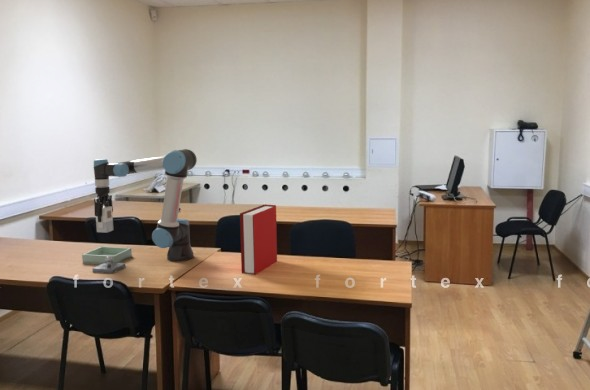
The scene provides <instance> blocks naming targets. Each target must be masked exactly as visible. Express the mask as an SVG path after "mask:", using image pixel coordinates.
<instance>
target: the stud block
mask: <svg viewBox="0 0 590 390" xmlns="http://www.w3.org/2000/svg"><path fill="white" fill-rule="evenodd" d="M105 261H106V262H105V263H103V264H98V265H96V266H95V267H93V268H92V273H101V274H114V273H116V272H118V271H120V270H121V269H124V268H126V262H125V263H124V262H119V263H114V262H111V261H112V257H111V256H107V257H106V258H105Z"/></svg>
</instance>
